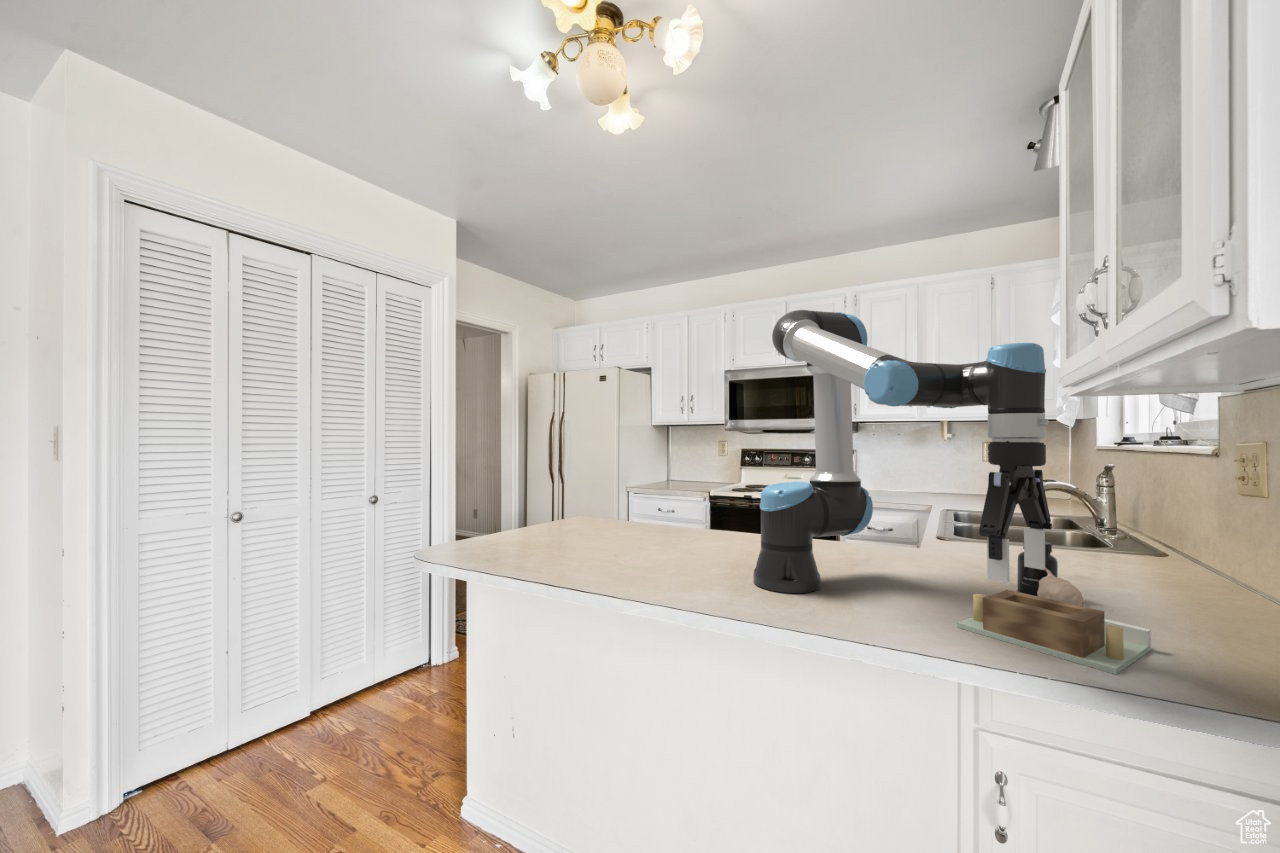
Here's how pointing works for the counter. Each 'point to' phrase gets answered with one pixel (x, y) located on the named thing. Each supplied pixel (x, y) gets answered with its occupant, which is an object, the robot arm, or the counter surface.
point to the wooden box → (1045, 622)
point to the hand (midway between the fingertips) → (1017, 574)
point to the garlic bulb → (1059, 590)
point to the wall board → (1113, 657)
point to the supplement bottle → (1035, 572)
